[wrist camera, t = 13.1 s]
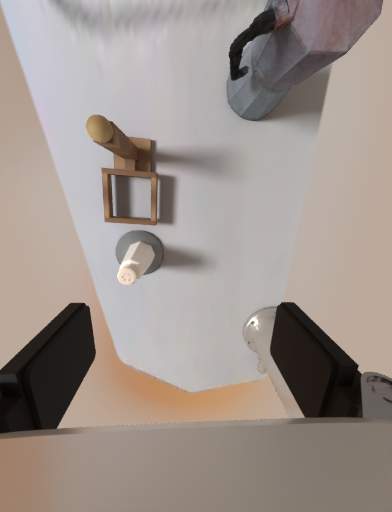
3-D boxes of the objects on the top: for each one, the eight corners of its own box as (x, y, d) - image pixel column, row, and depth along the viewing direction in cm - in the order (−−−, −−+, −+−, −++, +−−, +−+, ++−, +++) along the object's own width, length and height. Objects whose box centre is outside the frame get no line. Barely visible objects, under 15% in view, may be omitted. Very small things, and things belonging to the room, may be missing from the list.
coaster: (162, 274, 41) (162, 275, 41) (117, 273, 40) (116, 273, 40) (163, 232, 38) (163, 232, 38) (115, 228, 38) (114, 229, 37)
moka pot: (304, 96, 33) (468, -30, 14) (222, 146, 35) (274, 92, 16) (283, 30, 30) (454, -239, 11) (195, 87, 32) (218, -66, 13)
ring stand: (157, 222, 38) (141, 243, 23) (110, 219, 37) (62, 239, 22) (158, 141, 34) (141, 99, 18) (106, 135, 33) (42, 87, 18)
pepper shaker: (155, 241, 38) (145, 259, 28) (155, 267, 40) (146, 294, 30) (126, 240, 38) (105, 258, 27) (127, 266, 40) (108, 293, 29)
